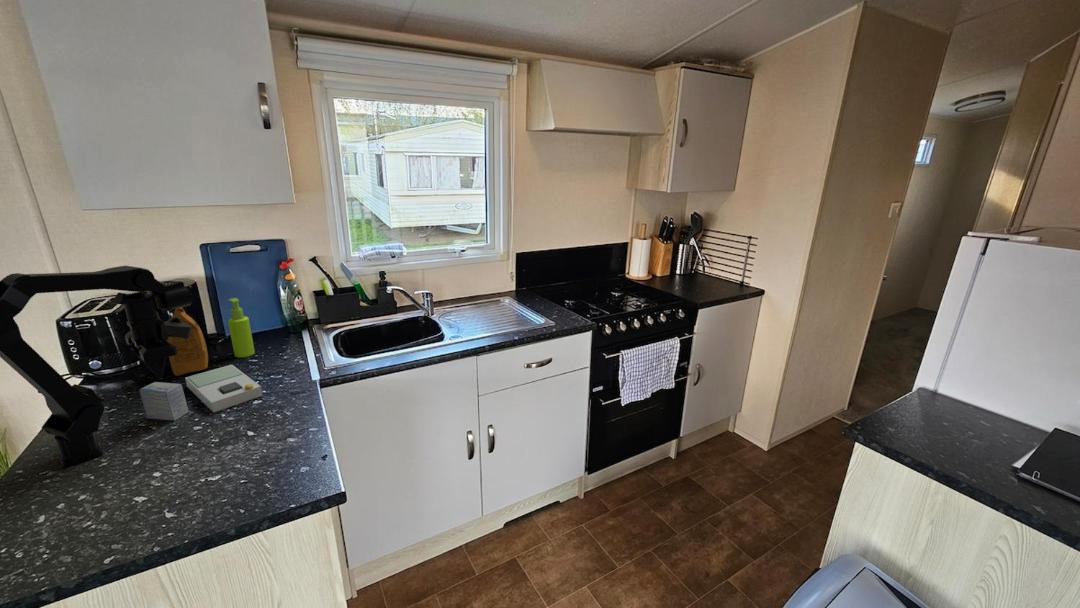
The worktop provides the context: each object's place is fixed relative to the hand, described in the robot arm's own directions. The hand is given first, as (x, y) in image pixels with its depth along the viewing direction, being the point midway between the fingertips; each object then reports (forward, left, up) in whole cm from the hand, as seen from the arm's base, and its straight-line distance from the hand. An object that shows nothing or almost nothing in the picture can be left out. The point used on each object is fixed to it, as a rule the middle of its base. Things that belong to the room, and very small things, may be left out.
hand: (158, 374), depth 111 cm
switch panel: (+4, -14, -12) cm, 19 cm away
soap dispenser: (+29, -28, -12) cm, 42 cm away
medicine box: (0, 0, -12) cm, 12 cm away
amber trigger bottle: (+29, -13, -12) cm, 34 cm away
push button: (-2, -14, -12) cm, 18 cm away
